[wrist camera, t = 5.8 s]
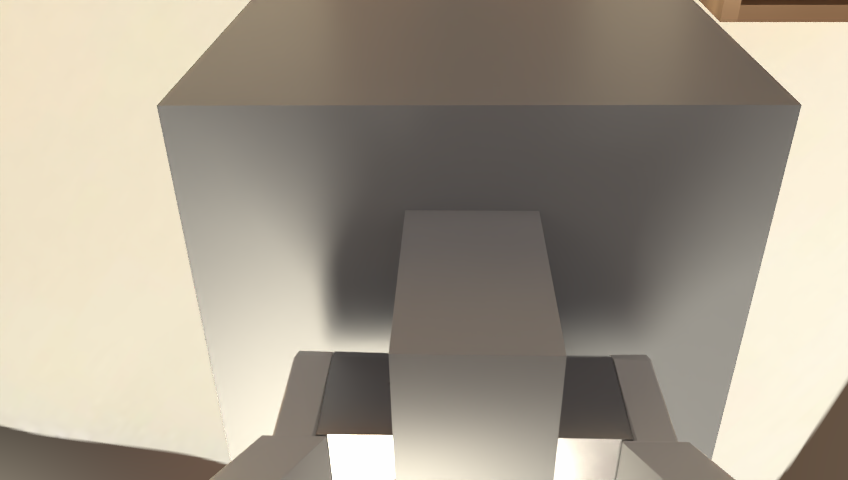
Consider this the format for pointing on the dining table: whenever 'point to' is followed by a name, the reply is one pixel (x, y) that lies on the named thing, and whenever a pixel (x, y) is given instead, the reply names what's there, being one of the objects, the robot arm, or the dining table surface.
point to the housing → (476, 209)
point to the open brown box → (778, 10)
